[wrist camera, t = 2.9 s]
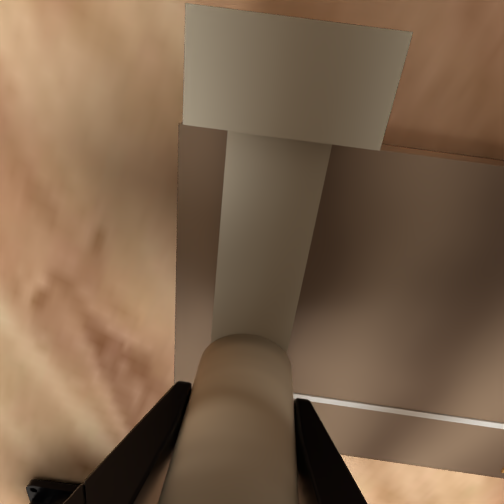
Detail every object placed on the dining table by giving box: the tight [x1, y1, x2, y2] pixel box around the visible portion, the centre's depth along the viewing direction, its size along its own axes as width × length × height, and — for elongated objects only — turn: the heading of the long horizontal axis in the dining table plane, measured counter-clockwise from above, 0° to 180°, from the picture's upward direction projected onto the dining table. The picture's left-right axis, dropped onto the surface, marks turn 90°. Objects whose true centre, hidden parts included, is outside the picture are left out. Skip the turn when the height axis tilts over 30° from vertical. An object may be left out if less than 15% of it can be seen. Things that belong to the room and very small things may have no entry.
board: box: [174, 122, 504, 478], centre depth 13 cm, size 20×14×2 cm
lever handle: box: [158, 3, 413, 504], centre depth 9 cm, size 4×13×9 cm, turn 173°
